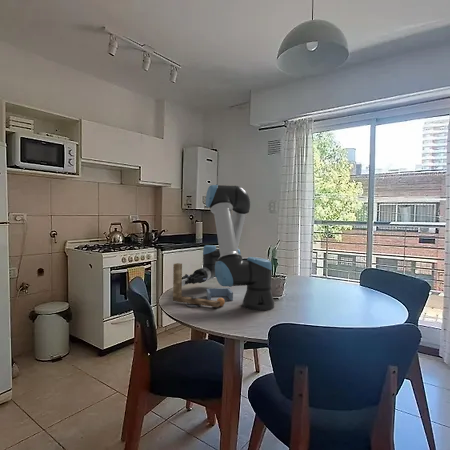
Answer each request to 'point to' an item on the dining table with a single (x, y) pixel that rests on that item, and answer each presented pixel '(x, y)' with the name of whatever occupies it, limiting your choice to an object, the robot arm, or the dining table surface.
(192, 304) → the pivot base
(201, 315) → the dining table surface
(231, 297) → the blue-gray u-shaped bracket
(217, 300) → the ball
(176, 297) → the lever
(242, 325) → the dining table surface
